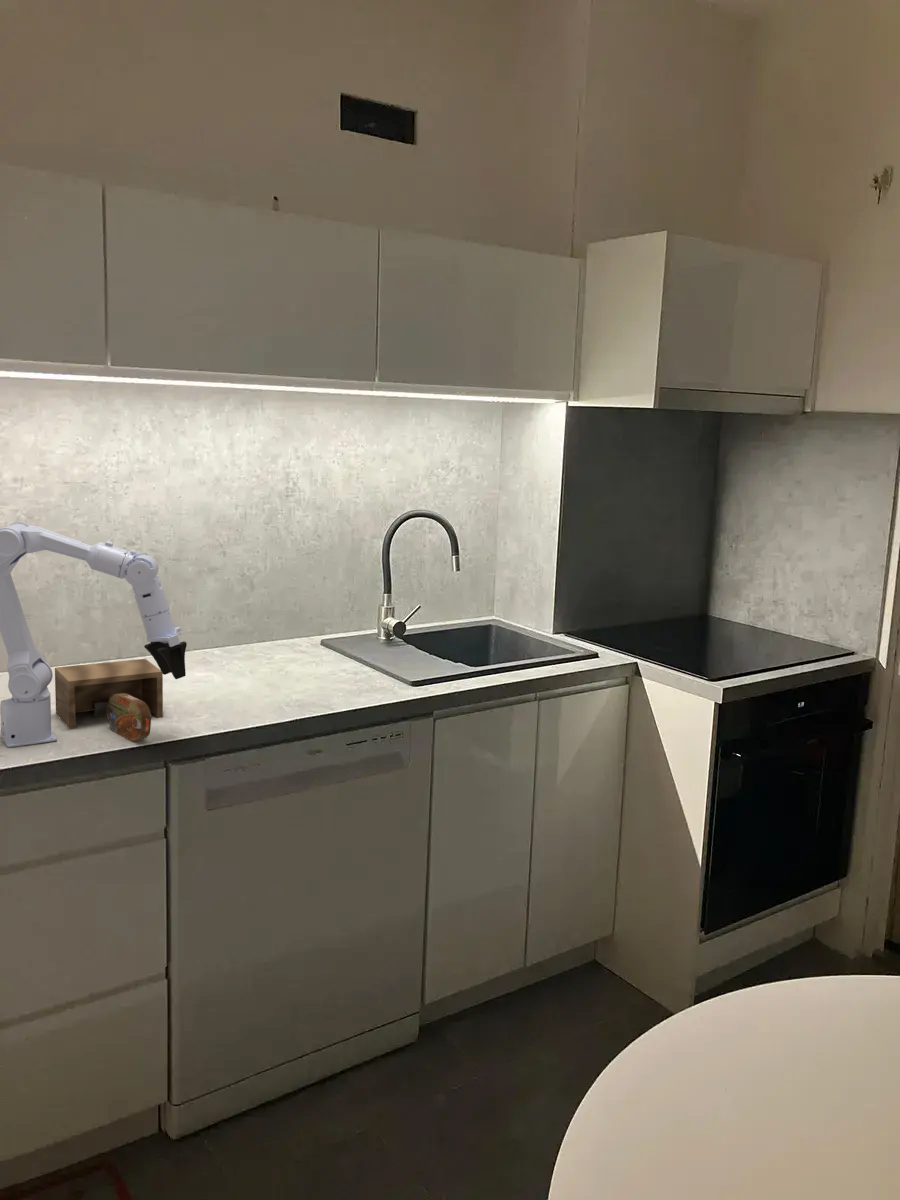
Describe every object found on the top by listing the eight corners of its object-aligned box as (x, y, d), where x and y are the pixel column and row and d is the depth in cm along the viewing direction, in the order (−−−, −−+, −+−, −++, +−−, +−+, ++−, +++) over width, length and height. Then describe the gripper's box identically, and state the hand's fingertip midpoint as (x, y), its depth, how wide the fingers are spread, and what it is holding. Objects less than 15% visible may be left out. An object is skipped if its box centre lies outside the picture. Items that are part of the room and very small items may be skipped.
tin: (105, 727, 216) (105, 689, 215) (119, 724, 219) (119, 687, 217) (139, 746, 206) (139, 706, 204) (154, 743, 208) (153, 704, 207)
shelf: (69, 729, 214) (68, 681, 212) (55, 713, 224) (54, 667, 222) (162, 717, 225) (162, 671, 223) (145, 702, 235) (145, 658, 233)
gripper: (185, 609, 201) (204, 672, 204) (162, 604, 213) (181, 664, 216) (151, 620, 198) (171, 684, 200) (130, 615, 210) (149, 676, 213)
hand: (174, 675), depth 208 cm, fingers open, 7 cm apart
